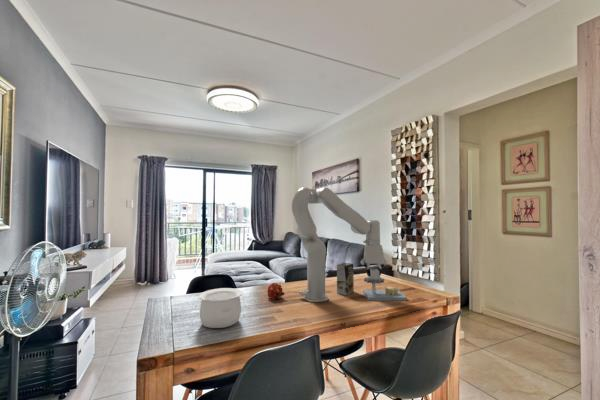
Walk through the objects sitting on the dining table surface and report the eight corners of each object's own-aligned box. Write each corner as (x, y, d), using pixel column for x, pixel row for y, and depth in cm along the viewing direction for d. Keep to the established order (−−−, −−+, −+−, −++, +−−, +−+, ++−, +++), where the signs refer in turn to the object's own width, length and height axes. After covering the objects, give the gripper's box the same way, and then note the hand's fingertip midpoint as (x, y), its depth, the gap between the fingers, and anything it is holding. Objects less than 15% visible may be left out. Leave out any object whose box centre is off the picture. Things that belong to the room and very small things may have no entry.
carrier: (368, 300, 147) (368, 283, 147) (363, 292, 161) (362, 277, 161) (407, 300, 146) (406, 283, 147) (398, 292, 160) (398, 277, 161)
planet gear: (366, 283, 149) (365, 271, 149) (362, 278, 159) (362, 267, 160) (386, 283, 149) (386, 271, 149) (381, 278, 159) (381, 267, 159)
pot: (196, 317, 124) (196, 289, 125) (235, 311, 131) (236, 285, 132) (201, 337, 104) (202, 304, 105) (247, 329, 111) (247, 298, 112)
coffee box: (346, 295, 156) (346, 266, 156) (336, 293, 159) (336, 264, 160) (354, 291, 163) (353, 263, 163) (344, 289, 167) (344, 262, 167)
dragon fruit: (273, 297, 158) (279, 307, 147) (261, 290, 155) (266, 299, 144) (282, 284, 159) (288, 293, 148) (270, 277, 156) (276, 285, 145)
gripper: (358, 243, 151) (359, 277, 151) (390, 243, 151) (391, 277, 150) (356, 242, 159) (357, 274, 158) (386, 241, 158) (387, 274, 158)
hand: (373, 275), depth 154 cm, fingers closed on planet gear, 4 cm apart
